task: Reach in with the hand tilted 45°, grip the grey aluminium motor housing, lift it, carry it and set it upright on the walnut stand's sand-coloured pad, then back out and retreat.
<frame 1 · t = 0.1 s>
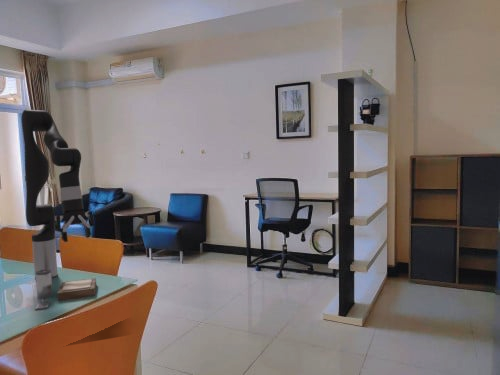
hand: (77, 239, 148), 22 cm above the table, tool pointing down, fingers open, 8 cm apart
housing: (45, 296, 149), on the table
bracket plate: (43, 307, 139), on the table
stand: (78, 292, 152), on the table
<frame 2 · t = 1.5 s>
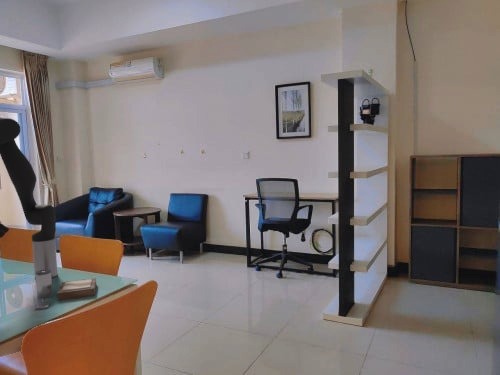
hand: (5, 233, 142), 26 cm above the table, tool tilted 45°, fingers open, 8 cm apart
nothing on the table moved.
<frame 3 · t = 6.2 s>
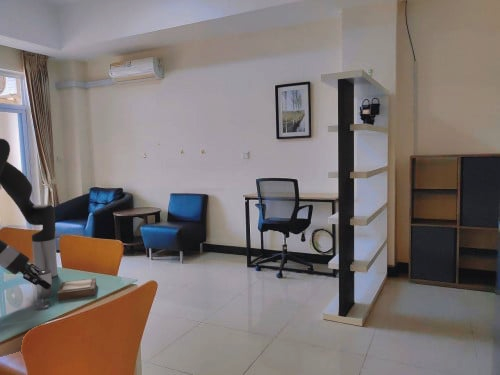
hand: (49, 284, 149), 4 cm above the table, tool tilted 45°, fingers closed on housing, 5 cm apart
housing: (45, 296, 149), on the table, touching gripper
everything else where it was.
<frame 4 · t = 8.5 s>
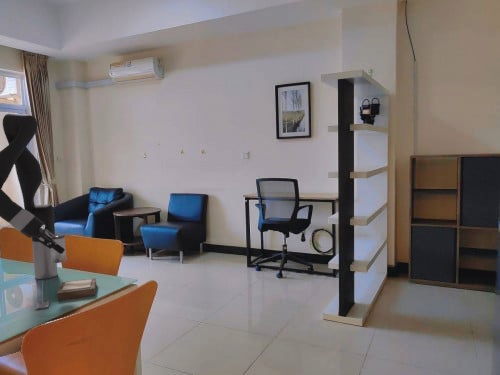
hand: (63, 250, 149), 18 cm above the table, tool tilted 45°, fingers closed on housing, 5 cm apart
housing: (59, 261, 149), point 14 cm above the table, touching gripper
everything else where it was.
when the fingers open (9 cm above the table, at t = 11.0 s): housing drops 1 cm, resting on stand.
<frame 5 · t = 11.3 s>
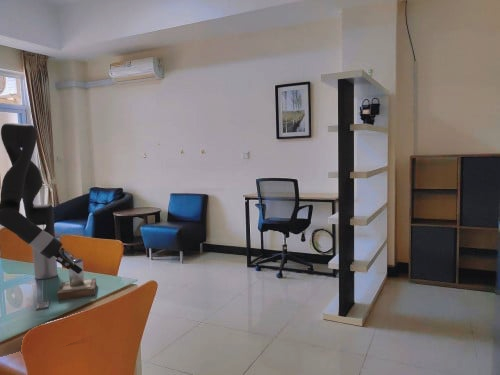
hand: (80, 269, 152), 10 cm above the table, tool tilted 45°, fingers open, 7 cm apart
housing: (77, 284, 152), point 3 cm above the table, touching stand
everything else where it was.
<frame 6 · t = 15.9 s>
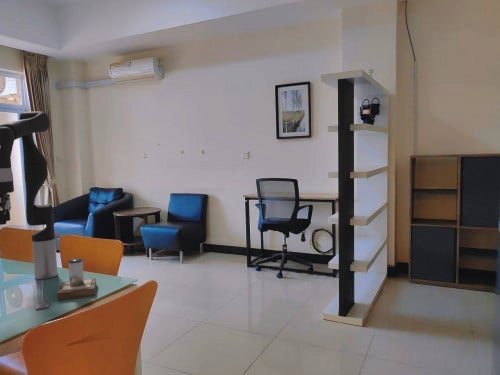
hand: (5, 222, 144), 30 cm above the table, tool pointing down, fingers open, 8 cm apart
nothing on the table moved.
at the end: housing inside the target area on the stand (0.2 cm from its centre), point 3.4 cm above the stand's base; housing tilted 0°; the gripper is holding nothing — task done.
